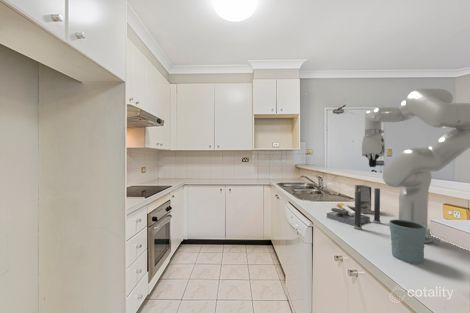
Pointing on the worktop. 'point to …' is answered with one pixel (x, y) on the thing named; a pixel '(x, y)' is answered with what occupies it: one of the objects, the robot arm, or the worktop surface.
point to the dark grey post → (377, 206)
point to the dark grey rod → (357, 210)
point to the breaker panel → (346, 216)
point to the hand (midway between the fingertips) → (372, 166)
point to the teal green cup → (407, 240)
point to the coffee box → (365, 198)
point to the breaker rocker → (346, 209)
